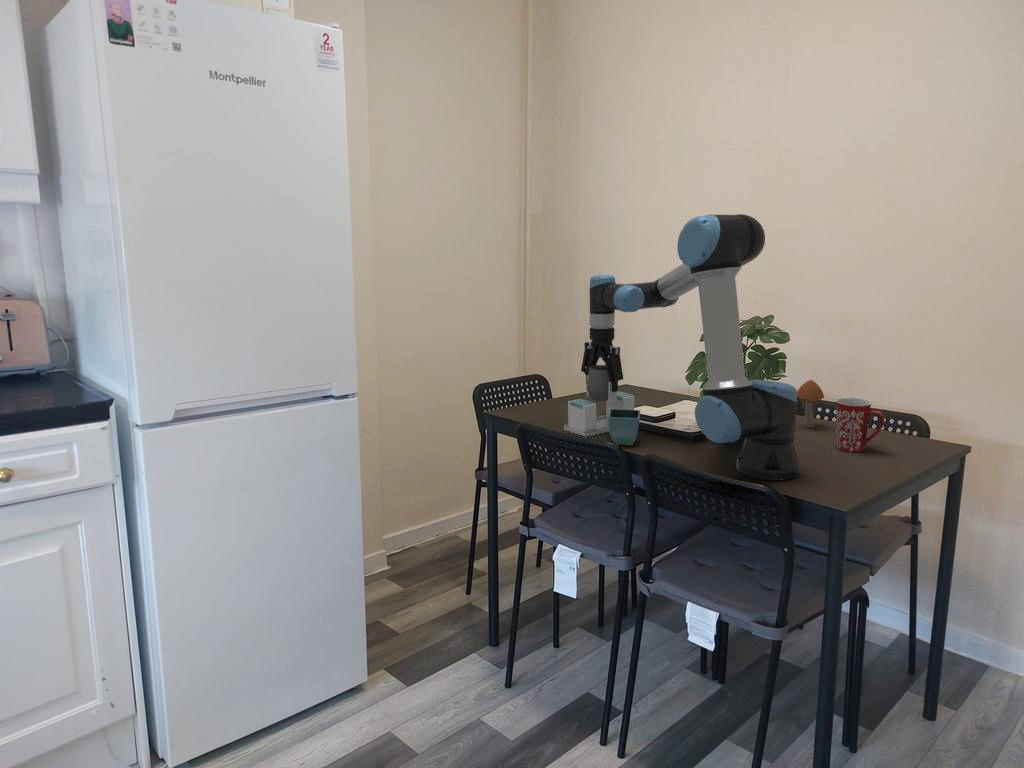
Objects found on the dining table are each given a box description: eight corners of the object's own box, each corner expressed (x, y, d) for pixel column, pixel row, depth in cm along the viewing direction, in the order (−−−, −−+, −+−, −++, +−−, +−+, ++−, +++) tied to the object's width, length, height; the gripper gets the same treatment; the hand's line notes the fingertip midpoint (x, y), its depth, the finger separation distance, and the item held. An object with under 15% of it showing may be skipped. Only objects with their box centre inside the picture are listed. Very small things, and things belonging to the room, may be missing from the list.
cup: (603, 404, 213) (603, 372, 211) (580, 399, 220) (580, 367, 217) (623, 398, 219) (623, 367, 217) (600, 393, 226) (600, 363, 223)
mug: (825, 448, 197) (829, 401, 194) (840, 441, 202) (844, 395, 199) (872, 459, 187) (877, 409, 184) (886, 451, 193) (891, 403, 190)
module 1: (596, 429, 215) (596, 403, 213) (584, 432, 212) (584, 406, 210) (579, 423, 221) (579, 398, 219) (568, 426, 219) (568, 400, 217)
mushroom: (794, 430, 213) (797, 381, 210) (792, 422, 221) (795, 376, 217) (823, 432, 211) (827, 383, 208) (820, 424, 218) (823, 377, 215)
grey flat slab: (638, 424, 223) (638, 419, 223) (584, 437, 211) (584, 432, 211) (617, 417, 231) (617, 412, 231) (563, 429, 219) (563, 424, 219)
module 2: (634, 420, 223) (634, 395, 221) (623, 423, 221) (623, 397, 219) (616, 415, 230) (617, 390, 228) (606, 417, 227) (606, 392, 225)
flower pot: (639, 448, 200) (639, 418, 198) (607, 447, 202) (607, 417, 200) (639, 439, 209) (640, 409, 207) (609, 438, 211) (610, 408, 208)
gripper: (636, 329, 207) (635, 403, 212) (588, 321, 225) (587, 389, 230) (617, 332, 203) (616, 407, 208) (569, 323, 221) (569, 393, 226)
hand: (601, 398), depth 219 cm, fingers closed on cup, 9 cm apart
